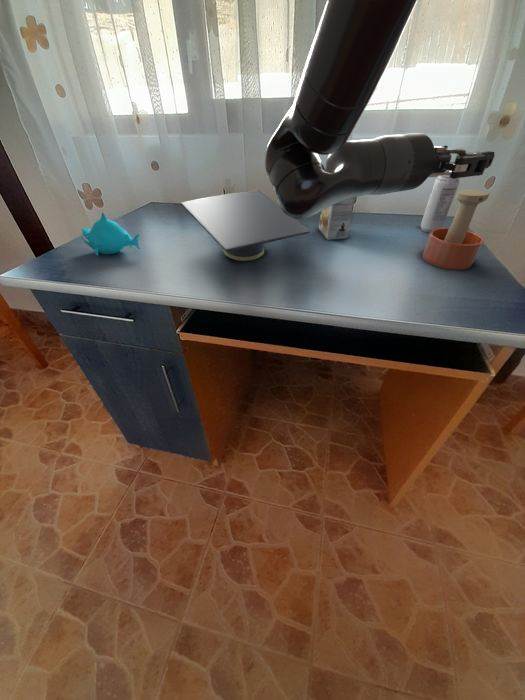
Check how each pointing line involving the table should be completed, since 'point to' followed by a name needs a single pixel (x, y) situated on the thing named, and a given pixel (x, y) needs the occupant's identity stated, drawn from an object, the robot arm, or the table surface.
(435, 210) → the energy drink can
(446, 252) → the holder
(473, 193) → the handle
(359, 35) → the robot arm
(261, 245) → the graduation cap
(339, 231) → the coffee box
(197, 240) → the table surface
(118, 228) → the toy shark
